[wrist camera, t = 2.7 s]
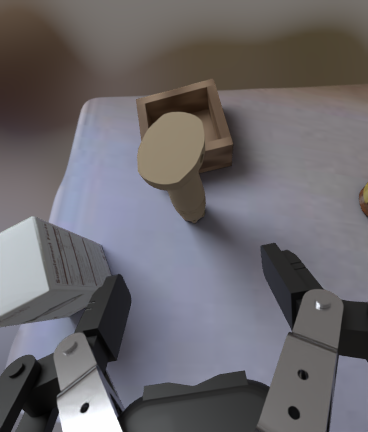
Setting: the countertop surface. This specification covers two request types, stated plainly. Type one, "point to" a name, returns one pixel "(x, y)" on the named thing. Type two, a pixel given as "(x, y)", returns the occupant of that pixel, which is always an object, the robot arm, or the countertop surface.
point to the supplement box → (46, 272)
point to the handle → (175, 161)
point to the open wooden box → (200, 107)
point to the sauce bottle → (364, 199)
